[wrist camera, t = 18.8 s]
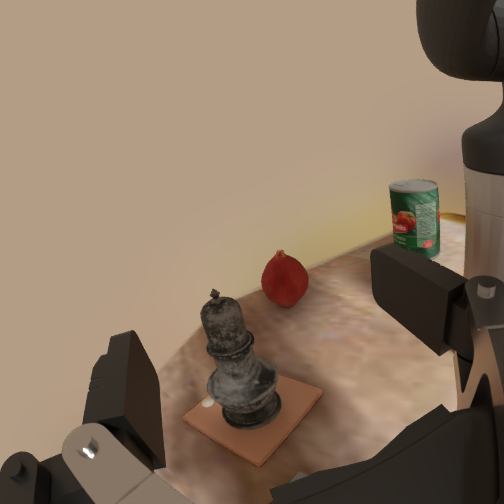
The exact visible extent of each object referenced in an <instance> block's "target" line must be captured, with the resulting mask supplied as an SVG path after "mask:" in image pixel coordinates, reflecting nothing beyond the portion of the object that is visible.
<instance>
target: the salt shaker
mask: <svg viewBox="0 0 504 504" xmlns="http://www.w3.org/2000/svg"><path fill="white" fill-rule="evenodd" d="M219 294H220V293H219V292H217V290H214V289H212V292H211V294H210V296H211V297H213V299H211V300H210V301H208V302H207V303H206V304H205V305H204V306H203V308H202V310H201V313H200V314H201V321H202V323H203V326H204V329H205V332H206V335H207V338H208V340H209V343H208V344H207V352H208V354H209V355H210V356H211V357H213V358H214V360H215V362H216V365H217V369H216V370H215V371H214V372H213V373H212V374H211V376H210V378H209V380H208V383H207V390H208V393H209V395H210V397H211V398H212V399H213V400H214V401H216V402H217V403H219V404H220V405H221V406H222V415H223V418H224V419H225V421H226V422H227V423H228V424H229V425H230V426H232V427H234V428H237V429H242V430H253V429H257V428H261V427H263V426H265V425H267V424H269V423H270V422H271V421H273V420H274V419H275V418H276V417H277V415H278V414H279V412H280V409H281V398H280V396H279V394H278V393H277V392H276V391H275V389H276V384H277V382H278V371H277V368H276V366H275V365H274V364H273V363H272V362H270V361H269V360H267V359H265V358H261V357H256V356H255V355H254V351H253V348H252V346H253V344H254V336H253V334H252V333H251V332H249V331H247V330H246V327H245V323H244V319H243V316H242V312H241V308H240V305H239V304H238V302H237V301H236V300H234V299H232V298H229V297H219Z"/></svg>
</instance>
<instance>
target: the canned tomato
mask: <svg viewBox="0 0 504 504" xmlns="http://www.w3.org/2000/svg"><path fill="white" fill-rule="evenodd" d="M389 189H390V198H391V209H392V223H393V235H394V236H393V237H394V244H395V245H397V246H399V247H401V248H403V249H405V250H407V251H409V252H413V253H417V254H421V255H423V256H425V257H427V258H429V259H431V260H433V259H435V258H436V257H438V256H439V254H440V215H439V195H438V183H437V182H435V181H432V180H425V179H409V180H401V181H397V182H394V183H391V184H390V185H389Z"/></svg>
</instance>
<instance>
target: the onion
mask: <svg viewBox="0 0 504 504" xmlns="http://www.w3.org/2000/svg"><path fill="white" fill-rule="evenodd" d="M261 283H262V288H263V290H264V292H265V294H266V296H267V297H268V298H269V299H270V300H271V301H273V302H275V303H277V304H279V305H283V306H285V307H288V308H290V307H293V306H294V305H295V304H296V303H297V302H298V300H299V299H300V298H301V297H302V296H303V295H304V294H305V292H306V290H307V287H308V275H307V272H306V270H305V268H304V267H303V266H302V264H301V263H300V262H299V261H298V260H296V259H295V258H293V257H290V256H288V255H286V254H284V251H283V250H278V251H277V253H276V255H275V256H274V257H273V258H272V259H271V260H270V261H269V262H268V264H267V265H266V267H265V270H264V272H263V275H262V280H261Z"/></svg>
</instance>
